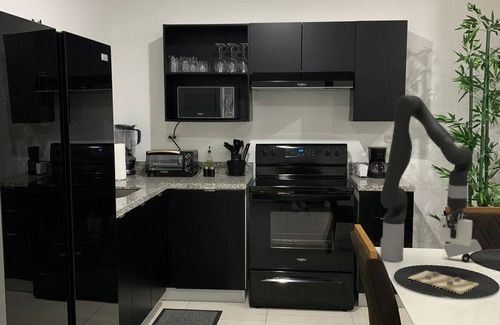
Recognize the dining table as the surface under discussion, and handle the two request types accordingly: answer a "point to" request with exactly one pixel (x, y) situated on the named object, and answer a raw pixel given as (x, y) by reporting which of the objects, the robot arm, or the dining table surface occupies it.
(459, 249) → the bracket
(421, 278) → the light brown flat board
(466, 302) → the dining table surface
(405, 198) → the robot arm
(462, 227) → the door panel
